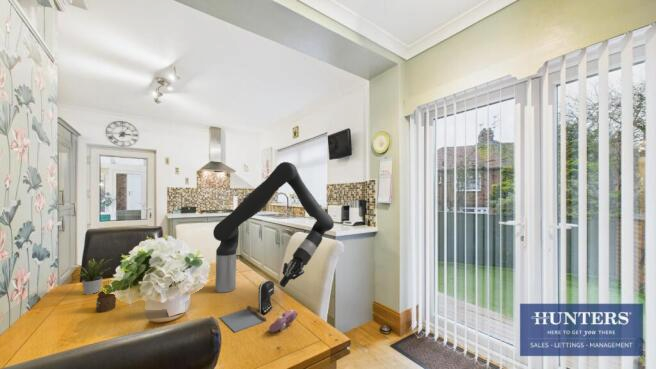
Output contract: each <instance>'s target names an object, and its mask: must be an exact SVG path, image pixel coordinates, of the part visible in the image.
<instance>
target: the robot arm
mask: <svg viewBox="0 0 656 369" xmlns="http://www.w3.org/2000/svg"><path fill="white" fill-rule="evenodd" d="M285 184H288V185H289V186H290V187H291V189H292V190H293V191H294V193H295V195H296V197H297V198H298V201H299V202H300V204H301V207H303V209H304V210H305V212H306V213H307V214H308V216H309V217H310V218H314V219H315V220H316V221H315V223H314V224H313V226H312V227H311V229H310V232H309V233H308V234H307V236H306V237H305V238H304V240H303V241H302V242H301V243H300V244H299V245H298V247H297V248H296V249H295V251H294V252H293V254H292V259H290V260H289V262H288V263H287V262H284V264H283V269H282V275H283V278H282V279H281V280H280V281H279V285H280V286H281V287H282V288H285V287H286V285H287V284H288V283H289V282H290V281H292V280H293V281H294V280H296V279H297V278H299V277H300V276H302V275H303V274H305V271H304V267H305V266H307V265H308V263H309V262H310V261H311V259H312V257H313V256H314V254H315V253H316V251H317V250H318V247H319V246H320V244H321V243H322V241H323V237H324V234H326V232H329V231H331V230H332V229H333V228H334V225H335V224H334V219H333V218H332V216H331V215H330V214H329V213H328V212H327V211H326V210H325V209H324V208H323V207H321V205H320V204H319V203H318V201H317V199H316V198H315V197H314V195H313V194H312V193H311V191H310V190H309V189H308V187H307V186H306V184H305V183H304V182H303V180H302V178H301V176H300V174H299V172H298V169H297V166H296V165H295V164H293V163H291V162H288V161H283V162H280V163H279V164H278V165H277V166H276V167H275V168H274V170H272V172H271V173H270V175H269V176H267V178H266V179H264V180H263V182H261V183H260V184H259V185H258V186H257V187H256V188H254V189H253V190H251V192H250V193H249V194H248V195H247V196H246V197H245V198H244V199H243V200H242V201H241V202H240V203H239V204H238V205H237V206H236V207H235V208H234V209H233V211H232V212H231V213H229V214H228V215H227V216H225V217H224V219H222V220H220V221H219V222H218V223H216V225H215V227H214V229H213V237H214V239H215V240H216V241H219V242H220V243H219V246H217V248H216V250H215V253H216V254H215V283H214V284H215V285H214V286H215V288H214V289H215V292H216V293H229V292H232V291H234V290H236V282H237V281H236V280H237V279H236V278H237V277H236V276H237V249H238V246H239V235H240V234H239V232H240V231H239V227H240V226H241V225H242V224H244V223H245V222H246V221H248V220H249V219H251V218H252V217H254V216H255V215H257V214H258V213H259V212H260V211H262V210H263V208H264V207H265V206H267V205H268V203H269V202H270V201H271V199H272V198H273V197H274V194H276V192H277V191H278V190H279V189H280V188H281V187H283V186H284V185H285Z"/></svg>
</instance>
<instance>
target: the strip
mask: <svg viewBox="0 0 656 369" xmlns="http://www.w3.org/2000/svg"><path fill="white" fill-rule="evenodd" d="M246 309H247V310H249V311H250V312H252V313H253V314H254V315H256V316H257V317H258V318H260V319H261V320H262V321H263V323H265V322H267V317H266V316H264V314H260V313H259V312H258V311H257V310H256V309H255V308H253V307H251V305H247V307H246Z"/></svg>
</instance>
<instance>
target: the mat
mask: <svg viewBox="0 0 656 369" xmlns="http://www.w3.org/2000/svg"><path fill="white" fill-rule="evenodd" d="M219 319H220V320H221V321H222V322H223V323H224V324H225V325H226V326H227V327H228V328H229V329H230V330H232V332H234V333H238V332H240V331H243V330H245V329H249V328H252V327H253V326H256V325H259V324H263V323H264V321H262V320H261V319H260V318H258V317H257V316H256V315H254V314H253V313H252V312H250V311H249V310H247V308H244V309H241V310H238V311H235V312H232V313H229V314H224V315H221V316H220V317H219Z"/></svg>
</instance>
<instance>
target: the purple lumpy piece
mask: <svg viewBox="0 0 656 369" xmlns="http://www.w3.org/2000/svg"><path fill="white" fill-rule="evenodd" d="M298 315H299V314H298V312H297V311H295V310H293V309H291V310H286V311H283V313H282V314H281V315H280V316H279V317H278V318H276V320H275V321H274V322H273V323H271V324H270V325H269V327H268V331H269V332H270V333H275V332H277V331H280V332H283V331H284V330H285V328H286V327H287V328H288V327H290V326H291V325H292V323H293V322H294V321H295V320H296V318H297V316H298Z"/></svg>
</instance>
